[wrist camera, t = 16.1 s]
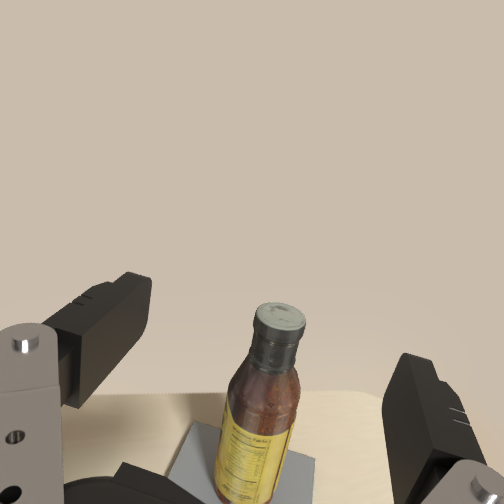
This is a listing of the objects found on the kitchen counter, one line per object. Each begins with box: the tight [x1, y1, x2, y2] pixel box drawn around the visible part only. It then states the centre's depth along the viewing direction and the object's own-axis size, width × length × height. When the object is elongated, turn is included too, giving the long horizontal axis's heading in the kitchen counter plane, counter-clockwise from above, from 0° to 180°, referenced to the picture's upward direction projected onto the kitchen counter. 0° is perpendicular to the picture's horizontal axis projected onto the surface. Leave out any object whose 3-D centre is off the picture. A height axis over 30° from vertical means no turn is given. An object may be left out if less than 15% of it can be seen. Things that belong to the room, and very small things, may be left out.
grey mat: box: [167, 421, 315, 504], centre depth 38 cm, size 14×12×1 cm
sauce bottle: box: [214, 303, 306, 504], centre depth 34 cm, size 7×6×20 cm
